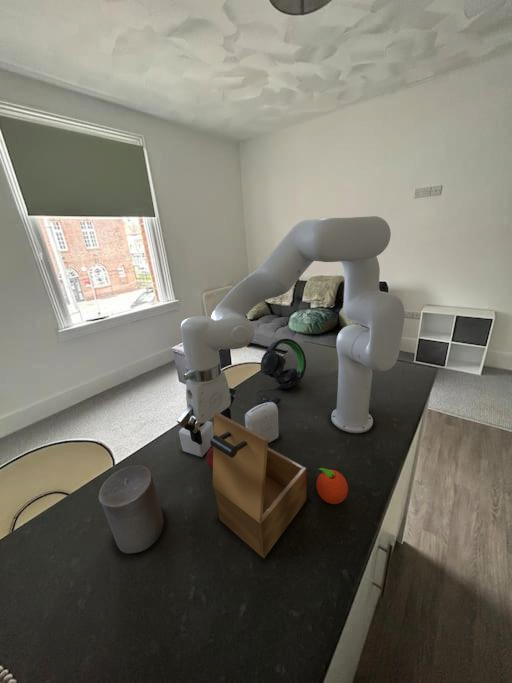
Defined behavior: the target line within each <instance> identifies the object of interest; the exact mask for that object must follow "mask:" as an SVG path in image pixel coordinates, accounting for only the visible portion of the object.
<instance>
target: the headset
mask: <svg viewBox="0 0 512 683" xmlns="http://www.w3.org/2000/svg"><path fill="white" fill-rule="evenodd" d="M281 344H283V345H287V346H289V347H290V349H292V350H293V352H294V353H295V355H296V357H297V362H298V364H297V365H298V367H297V369H296V368H295V367H291V368H286V369H284V368H285V365H286V363H287V362H286V361H287V358H285V357H284V356H283V355H281V354H279V353H277V352H276V351H275V350H276V349H277V347H279V346H280V345H281ZM306 360H307V358H306V354H305V352H304V350H303V348H302V347H301V345H300V344H299V343H298V342H297V341H295V340H294V339H292V338H281V339H278V340H276V341H273V342H272V343H271V344H270V345H269V347H268V348H267V349H266V350H265V353H264V354H263V355H262V358H261V361H260V371H261V373H262V375H265V376H268V377H270V378H272V379H274V380H275V382H276V386H277V387H276V388H273V389H264V390H263V389H262V390H259V391H257V393H256V395H257V397H260V398H262V399H261V400H260V401H259V403H260V404H263V403H268V402H273V403H274V404H276V406H277V404H280V403H281V397H277V396H275V397H271V398H268V397H267V396H266V395H263V396H261V395H259V393H261V392H271V391H276V390H282V389H284V390H290V389H293V388H294V387H296V386H297V384H299V383H301V381H302V379H303V378H304V375H305V372H306V368H307V361H306ZM277 407H278V406H277Z"/></svg>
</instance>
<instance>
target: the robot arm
mask: <svg viewBox="0 0 512 683" xmlns="http://www.w3.org/2000/svg"><path fill="white" fill-rule="evenodd" d="M391 234H392V233H391V227H390V224H389V223H388V222H387V221H386V220H385V219H384V218H383V217H380V216H376V215H371V216H355V217H354V216H353V217H322V218H321V217H320V218H313V219H305V220H302V221H299V222H297V223H296V224H294V226H293V227H291V229H290V230H289V231H288V232H287V233H286V235H285V236H284V237H283V238H282V240H280V242H279V243H278V244H277V245H276V247H275V248H274V249H273V250H272V251H271V253H269V255H268V256H266V258H265V260H263V262H262V263H261V264H260V266H259V267H257V268H256V269H255V270H254V271H252V272H251V273H250V274H248V275H247V276H246V277H245V278H243V279H242V280H241V281H240V282H238V283H237V284H236V285H235V286H233V287H232V289H230V291H229V292H227V294H226V295H225V296H224V297H223V298H222V300H220V302H219V303H218V304H217V305H216V307H215V308H214V310H213V311H212V313H211V316H207V315H195V316H190V317H187V318H186V319H184V320H182V322H181V323H180V334H181V335H180V336H181V340H182V341H181V342H182V347H183V353H184V359H185V365H186V373H185V374H183V379H184V380H185V381H186V383H185V399H186V400H185V401H186V409H185V410H184V411H183V412H182V413H181V415H180V416H179V417H178V419H177V420H176V422H177V424H179V426H181V428H185V429H186V430H189V431H190V435H191V440H192V441H193V442H196V443H197V444H199V445H201V444H202V437H201V431H200V430H199V426H200V424H201V423H205V422H207V421H209V422H210V420H212V419H214V414H215V413H219V414H221V415H223V416H225V417H227V418H229V419H231V420H232V413H231V409H233V402H234V400H235V396H236V395H235V394H236V392H237V389H236V387H233V386H229V382H228V379H227V376H226V373H225V371H224V370H223V369H222V368H221V367H222V366H221V357H220V350H238V349H239V350H240V349H242V348H245V347H247V346H249V345H250V344H251V343H252V342H253V340H254V338H255V334H256V332H255V331H256V330H255V327H254V324H253V323H252V321H251V320H250V319H249V318H247V317H246V316H247V315H248V314H249V313H250V312H251V311H252V310H253V309H254V308H255V307H256V306H258V305H259V304H261V303H263V302H265V301H267V300H270V299H274V298H277V297H280V296H283V295H285V294H287V293H288V292H290V290H291V288H292V287H293V286H294V285H295V284H296V283H297V281H298V280H299V279H300V278H301V277H302V276H303V274H304V273H305V272H306V271H307V270H308V268H310V266H311V265H312V264H313V263H314V262H322V263H337V262H338V263H341V265H342V268H343V274H344V284H343V286H344V287H343V304H342V305H343V307H342V308H343V315H344V317H345V318H346V319H348V320H349V321H350V322H352V323H355V324H349V325H346V326H344V327H342V328H341V330H340V331H339V332H338V334H337V336H336V340H335V341H336V342H335V344H336V352H337V359H338V374H337V393H336V408H334V409H333V410H332V412H331V415H330V419H331V422H332V424H333V425H334V426H335V427H336V428H338V429H339V430H341V431H343V432H347V433H350V434H351V433H352V434H361V433H362V434H363V433H366V432H368V431H369V430H371V429H372V427H373V425H374V419H373V417H372V415H371V413H369V411H370V402H371V392H372V391H371V390H372V382H373V371H374V372H378V373H384V372H387V371H390V370H391V369H393V367H394V366H395V365H396V363H397V362H398V359H399V356H400V352H401V346H402V339H403V338H402V337H403V333H404V332H403V330H404V323H405V314H406V312H405V307H404V303H403V301H402V300H401V298H399V297H398V296H397V295H396V294H393V293H390V292H387V291H381V289H380V273H381V271H380V270H381V269H380V263H379V262H380V261H379V260H378V257H379V256H380V255H381V254H383V253H384V251H385V250H386V249H387V247H388V246H389V244H390V241H391V236H392V235H391ZM189 417H190V419H189V422H188V423H187V420H188V418H189ZM195 420H196V423H195V425H193V423H194V421H195Z"/></svg>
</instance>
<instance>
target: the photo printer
mask: <svg viewBox="0 0 512 683" xmlns="http://www.w3.org/2000/svg"><path fill="white" fill-rule="evenodd" d="M276 405H277V403H273V402H268V403H263V404H262V403H260V404H258V405H256V406H254V407H253V408H251V409H250V410H248V411H247V412H246V413H245V414H244V424H245V425H244V427H246V428H248V429H250V430H252V431H254V432H256V433H257V434H259V435H261V436H263V437H265V438H267V439H268V444H270V443H271V442H273V441H275V440H276V439H278V438H279V435H280V430H279V427H280V426H279V409H278V406H276Z"/></svg>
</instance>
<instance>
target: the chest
mask: <svg viewBox="0 0 512 683" xmlns="http://www.w3.org/2000/svg"><path fill="white" fill-rule="evenodd" d="M213 488H214V487H213ZM213 490H214V494H215V500H216V507H217V513H218V520H219V521H220V522H221V523H223V524H224V525H225V526H226V527H227V528H228V529H229V530H230V531H232V532H233V533H234V534H235V535H236V536H237V537H238V538H240V539H241V540H242V541H243V542H244V543H245V544H247V546H249V547H250V548H251V549H252V550H253V551H255V552H256V553H257V554H258V555H259V556H260V557H261V558H262V559H265V558H267V555H268V554H269V553H270V551H271V550H272V549H273V547H274V546H275V544H276V543H277V542H278V540H279V539H280V538H281V536H282V535H283V534H284V532H285V531H286V529H287V528H288V527H289V525H290V524H291V522H292V521H293V519H295V517H296V515H297V514H298V513H299V511H300V510H301V509H302V508H303V507H304V505H305V503H306V502H307V467H305V466H304V465H301V464H300V463H298V462H297V461H294V460H292V459H290V458H288V457H287V456H285V455H283V454H282V453H280V452H278V451H276V450H274V449H272V448H270V447H269V446H268V450H267V463H266V476H265V489H264V502H263V516H262V521H261V522H260V523H259V522H257V521H256V520H255V519H254V518H252V517H251V516H250V515H248V514H247V513H246V512H245V511H243V510H242V509H241V508H239V507H238V506H237V505H236V504H234V503H233V502H232V501H231V500H229V499H228V498H227V497H225V496H224V495H223V494H222V493H220V492H219V491H218V490H216V489H215V488H214V489H213Z"/></svg>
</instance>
